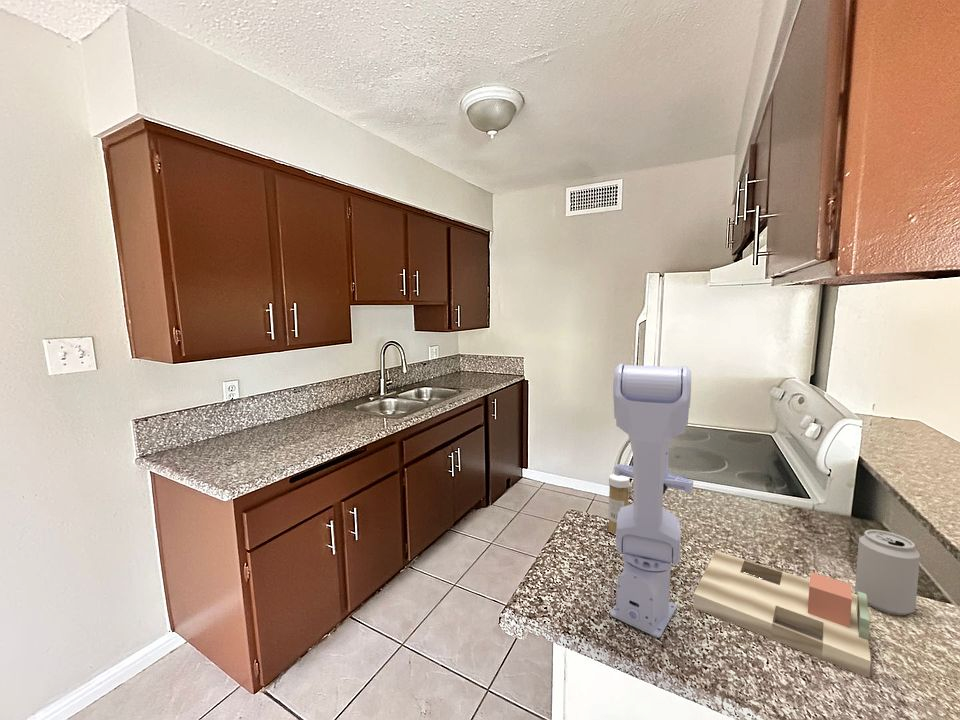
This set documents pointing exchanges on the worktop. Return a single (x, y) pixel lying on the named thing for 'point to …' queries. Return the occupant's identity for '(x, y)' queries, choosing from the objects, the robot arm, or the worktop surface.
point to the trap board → (782, 611)
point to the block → (830, 599)
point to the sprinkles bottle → (617, 498)
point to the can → (888, 571)
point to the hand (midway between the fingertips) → (650, 517)
